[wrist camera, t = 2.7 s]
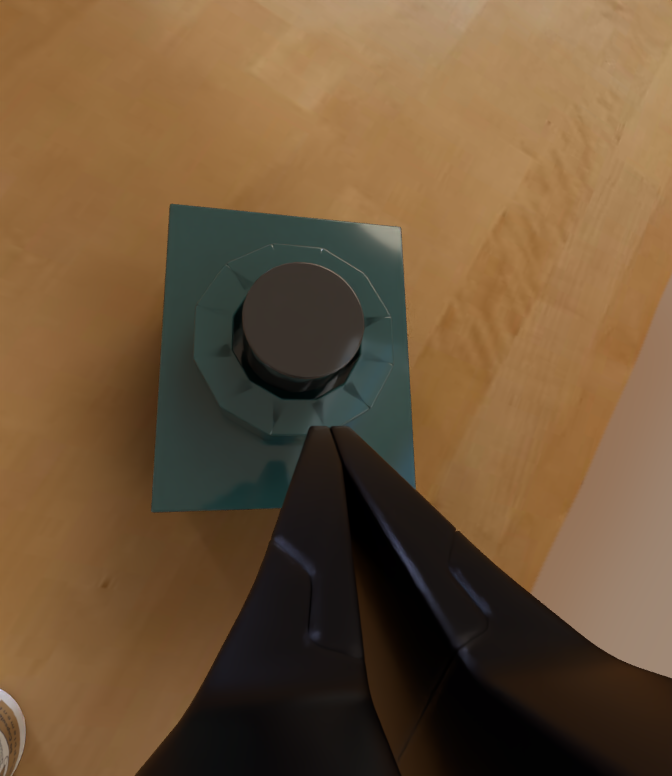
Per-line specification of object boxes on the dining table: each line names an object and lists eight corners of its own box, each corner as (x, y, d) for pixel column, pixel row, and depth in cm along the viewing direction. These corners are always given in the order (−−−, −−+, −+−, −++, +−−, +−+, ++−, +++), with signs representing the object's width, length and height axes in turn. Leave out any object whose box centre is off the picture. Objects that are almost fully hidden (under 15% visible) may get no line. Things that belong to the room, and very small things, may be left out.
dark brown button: (350, 393, 15) (367, 380, 13) (240, 391, 14) (240, 377, 12) (347, 293, 16) (363, 266, 14) (242, 285, 15) (243, 256, 13)
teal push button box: (363, 498, 23) (438, 506, 14) (179, 503, 21) (138, 516, 13) (357, 296, 25) (418, 199, 17) (189, 285, 23) (161, 169, 15)
